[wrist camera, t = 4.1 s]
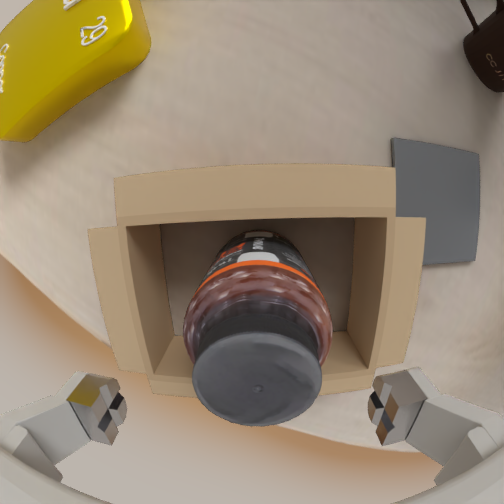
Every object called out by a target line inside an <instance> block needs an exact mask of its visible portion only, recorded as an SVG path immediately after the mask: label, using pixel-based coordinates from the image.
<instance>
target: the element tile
mask: <svg viewBox="0 0 504 504" xmlns="http://www.w3.org/2000/svg"><path fill="white" fill-rule="evenodd" d="M150 47H151V37H150V34H149V30H148V27H147V24H146V20H145V17H144V14H143V10H142V7H141V3H140V0H33V1H32V2H31V3H30V4H29V5H28V6H26V7H25V8H24V9H23V10H22V11H21V12H20V13H19V14H18V15H17V16H16V17H15V18H14V19H13V20H12V21H11V22H10V23H9V24H8V25H7V26H6V27H5V28H4V29H3V30H2V32H1V33H0V140H4V141H16V142H27V141H30V140H32V139H33V138H34V137H36V136H37V135H38V134H39V133H40V132H41V131H43V130H44V129H45V128H46V127H47V126H49V125H50V124H51V123H52V122H53V121H55V120H56V119H57V118H59V117H60V116H61V115H62V114H64V113H65V112H66V111H68V110H69V109H70V108H72V107H73V106H75V105H76V104H77V103H79V102H80V101H82V100H83V99H85V98H86V97H88V96H89V95H91V94H92V93H94V92H95V91H97V90H98V89H100V88H101V87H103V86H105V85H106V84H108V83H110V82H111V81H113V80H115V79H116V78H118V77H120V76H122V75H123V74H125V73H127V72H129V71H131V70H133V69H134V68H135V67H137V66H138V65H139V64H140V63H141V62H142V61H143V60H144V59H145V58H146V56H147V55H148V53H149V51H150Z"/></svg>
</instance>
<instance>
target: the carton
mask: <svg viewBox="0 0 504 504" xmlns="http://www.w3.org/2000/svg"><path fill="white" fill-rule="evenodd" d="M114 191H115V206H116V218H117V227H105V228H94V229H88V237H89V245H90V252H91V258H92V264H93V270H94V276H95V281H96V286H97V291H98V295H99V300H100V304H101V309H102V313H103V317H104V321H105V325H106V328H107V332H108V336H109V339H110V343H111V346H112V349H113V353H114V356H115V359H116V361H117V365H118V368H119V370H121V371H128V372H136V373H145V374H147V377H148V380H149V383H150V387H151V390H152V393H153V394H161V395H171V396H181V397H193V398H198V397H197V395H196V392H195V390H194V387H193V384H192V371H193V366H194V364H193V363H192V361H191V360H190V357H189V355H188V353H187V350H186V347H185V344H184V338H183V336H175V335H174V330H173V324H172V318H171V312H170V306H169V300H168V293H167V286H166V278H165V271H164V263H163V254H162V244H161V234H160V224H165V223H181V222H199V221H220V220H243V219H273V218H320V217H354V251H353V270H352V284H351V296H350V307H349V316H348V325H347V331H338V332H333V336H332V344H331V348H330V351H329V353H328V356H327V358H326V360H325V362H324V364H323V365H322V367H321V371H322V386H321V390H320V392H319V394H318V395H327V394H336V393H343V392H350V391H356V390H363V389H368V388H371V385H372V381H373V377H374V373H375V369H376V368H378V367H384V366H389V365H395V364H400V363H403V361H404V358H405V354H406V350H407V346H408V342H409V338H410V334H411V329H412V325H413V320H414V315H415V310H416V304H417V299H418V293H419V286H420V279H421V272H422V263H423V254H424V243H425V229H426V218H421V217H396V170H395V168H394V167H381V166H366V165H347V164H303V163H294V164H250V165H229V166H214V167H201V168H190V169H179V170H170V171H161V172H153V173H145V174H138V175H131V176H124V177H118V178H114Z"/></svg>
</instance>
